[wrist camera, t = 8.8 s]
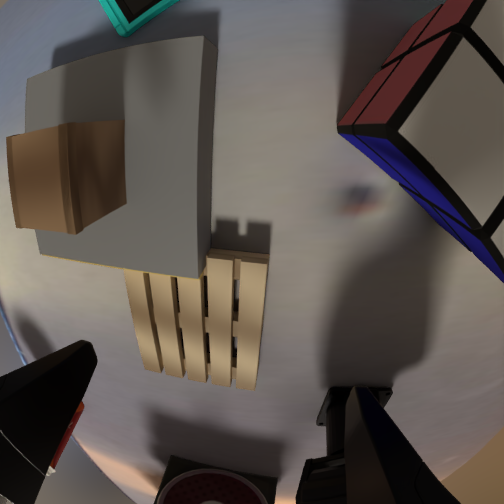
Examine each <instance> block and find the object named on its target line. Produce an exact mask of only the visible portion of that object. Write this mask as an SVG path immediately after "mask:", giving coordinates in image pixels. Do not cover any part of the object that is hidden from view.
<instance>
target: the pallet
mask: <svg viewBox="0 0 504 504" xmlns="http://www.w3.org/2000/svg"><path fill="white" fill-rule="evenodd" d="M268 265H269V254H261V253H252V252H242V251H233V250H224V249H214V248H211V249H210V250H209V252H208V253H207V255H206V267H205V269H204V273H203V275H202V277H201V278H200V280H193V279H186V278H178V277H177V282H178V294H179V303H177V295H176V284H175V277H171V276H164V275H157V274H151V273H149V274H148V273H144V272H138V271H131V270H125V269H124V275H125V281H126V287H127V293H128V298H129V303H130V308H131V313H132V318H133V323H134V327H135V331H136V336H137V340H138V344H139V348H140V352H141V356H142V360H143V364H144V367H145V369H146V370H150V371H154V372H158V373H161V372H162V370H163V368H164V367H165V372H166V375H171V376H175V377H179V378H183V377H184V375H185V372H186V371H185V370H187V373H188V379H189V380H194V381H199V382H204V383H206V382H207V379H208V375H211V379H212V384H215V385H221V386H227V387H230V386H231V382H232V379H236V388H239V389H246V390H254V391H255V387H256V380H257V374H258V366H259V361H258V360H259V351H260V341H261V335H262V328H263V318H264V315H263V310H264V300H265V289H266V281H267V275H268ZM204 276H207V277H208V307H205V305H204ZM149 277H150V282H149ZM234 279H237V280H240V292H239V312H237V311H233V307H234ZM150 285H151V290H150ZM151 292H152V297H151ZM156 325H157V329H156ZM180 328H182V334H183V343H184V349H182V342H181V333H180ZM157 331H158V334H157ZM206 332H207V333H209V341H210V353H207V347H206ZM158 336H159V340H158ZM233 337H238V344H237V358H235V357H232V349H233ZM159 342H160V344H159Z"/></svg>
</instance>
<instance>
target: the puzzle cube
mask: <svg viewBox="0 0 504 504" xmlns="http://www.w3.org/2000/svg"><path fill="white" fill-rule="evenodd" d="M381 68H382V70H381V71H379V72H378V73H376V74H375V76H374V77H373V78H372V79H371V81H370V82H369V83H368V85H367V86H366V87H365V89H364V90H363V91H362V93H361V94H360V95H359V97H358V98H357V99H356V101H355V102H354V103H353V105H352V106H351V107H350V109H349V110H348V111H347V113H346V114H345V115H344V117H343V118H342V119H341V121H340V122H339V123H338V125H337V131H338V134H340V135H341V136H342V137H344V138H345V139H346V140H347V141H349V142H350V143H351V144H352V145H354V146H355V147H356V148H357V149H359V150H360V151H361V152H362V153H364V154H365V155H366V156H367V157H368V158H370V159H371V160H372V161H373V162H374V163H375V164H377V165H378V166H379V167H380V168H381V169H382V170H383V171H385V172H386V173H387V174H388V175H389V176H390V177H391V178H393V179H394V180H396V181H398V182H399V185H400V186H401V187H402V188H403V189H404V190H405V191H406V192H407V193H408V194H409V195H411V196H412V197H413V198H414V199H415V200H416V201H417V202H418V203H419V204H420V205H421V206H422V207H423V208H424V209H425V210H426V211H427V212H428V213H429V215H430V216H431V217H432V218H433V219H434V220H435V221H436V222H437V223H438V224H439V225H440V226H441V227H442V228H444V229H445V230H446V231H447V232H448V233H450V234H451V235H452V236H453V237H454V238H455V239H457V240H458V241H459V242H460V243H461V244H462V245H463V246H465V247H466V248H467V249H468V250H469V251H470V252H473V254H474V255H475V256H476V257H477V258H478V259H479V260H480V261H481V262H482V263H483V264H484V265H486V266H487V267H488V268H489V269H490V270H491V271H492V272H493V273H494V274H495V275H496V276H497V277H498V278H499V279H500V280H501V281H502V282H503V283H504V0H447V1H446V2H445V3H444V4H441V5H439V6H438V7H436V8H435V9H434V10H432V11H431V12H430V13H428V14H427V15H426V16H424V17H423V18H421V19H420V20H419V21H418V22H416V23H415V24H414V25H413V26H412V27H411V28H410V29H409V31H408V32H407V33H406V35H405V36H404V37H403V39H402V40H401V41H400V43H399V44H398V45H397V46H396V48H395V49H394V50H393V52H392V53H391V54H390V56H389V57H388V58H387V60H386V61H385V62H384V64H383V65H382V66H381Z"/></svg>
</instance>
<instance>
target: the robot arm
mask: <svg viewBox="0 0 504 504" xmlns="http://www.w3.org/2000/svg"><path fill="white" fill-rule="evenodd" d="M96 365H97V356H96V353H95V351H94V348H93V345H92V343H91V342H88V341H85V340H79V341H77V342H75V343H73V344H71V345H69V346H67V347H64V348H62V349H60V350H58V351H56V352H54V353H51V354H49V355H47V356H45V357H43V358H41V359H38V360H36V361H34V362H32V363H30V364H28V365H25V366H23V367H21V368H19V369H17V370H14V371H12V372H10V373H8V374H6V375H3V376H1V377H0V504H6V502H7V500H9V501H10V502H12V503H13V504H34V503H35V500H36V498H37V495H38V493H39V491H40V488H41V486H42V483H43V481H44V479H45V475H46V474H47V471H48V469H49V467H50V464H51V462H52V460H53V458H54V456H55V453H56V451H57V449H58V447H59V445H60V443H61V441H62V438H63V436H64V434H65V432H66V430H67V428H68V426H69V424H70V422H71V420H72V418H73V416H74V414H75V412H76V410H77V408H78V406H79V405H80V403H81V401H82V399H83V397H84V394H85V392H86V390H87V387H88V385H89V382H90V380H91V377H92V375H93V373H94V370H95V368H96ZM392 394H393V391H392V388H368V387H366V386H354V387H353V388H342V387H333V388H331V389H329V391H328V394H327V396H326V399H325V401H324V404H323V406H322V409H321V411H320V414H319V416H318V418H317V421H316V425H318V426H326V440H327V456H325V457H321V458H316V459H312V458H311V459H306V462H305V466H304V468H303V472H302V476H301V480H300V483H299V487H298V490H297V494H296V504H461V503H460V502H459V501H458V500H457V499H456V498H455V497H454V496H453V495H452V494H451V493H450V492H449V491H448V490H447V489H446V488H445V487H444V486H443V485H442V484H441V482H440V481H439V480H438V479H437V478H436V477H435V475H434V474H433V473H432V472H431V470H430V469H429V468H428V466H427V465H426V464H425V462H422V461H423V460H422V459H421V457H420V456H419V455H418V453H417V452H416V451H415V449H414V448H413V447H412V445H411V444H410V443H409V441H408V440H407V439H406V437H405V436H404V435H403V433H402V432H401V431H400V429H399V428H398V427H397V425H396V424H395V423H394V421H393V420H392V419H391V418H390V416H389V415H388V414H387V412H386V411H385V410H384V407H385V405H386V404H387V402H388V400H389V399H390V397H391V395H392Z"/></svg>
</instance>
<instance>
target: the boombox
mask: <svg viewBox="0 0 504 504" xmlns="http://www.w3.org/2000/svg"><path fill="white" fill-rule="evenodd" d="M276 487H277V478H275V477H267V476H260V475H254V474H248V473H242V472H237V471H231V470H227V469H222V468H217V467H213V466H209V465H205V464H201V463H197V462H193V461H190V460H186V459H183V458H179V457H176V456H173V455H171V457H170V459H169V462H168V465H167V468H166V471H165V473H164V476H163V479H162V482H161V485H160V487H159V490H158V493H157V496H156V499H155V501H154V504H274V503H275V495H276Z"/></svg>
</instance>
